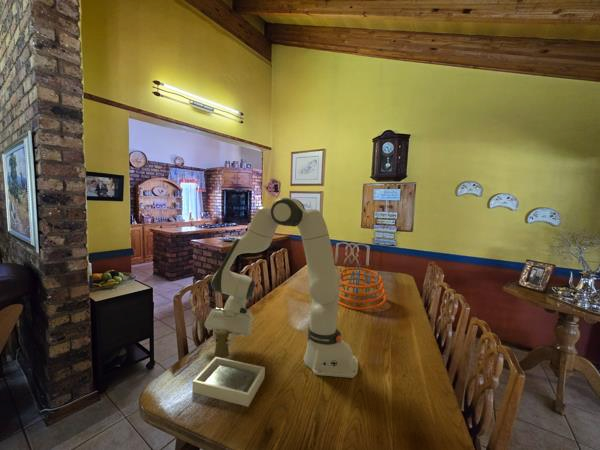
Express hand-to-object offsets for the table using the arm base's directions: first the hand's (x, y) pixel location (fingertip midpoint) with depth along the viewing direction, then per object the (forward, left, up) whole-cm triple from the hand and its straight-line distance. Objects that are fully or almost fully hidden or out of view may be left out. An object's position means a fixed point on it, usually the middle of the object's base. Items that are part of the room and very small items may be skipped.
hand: (221, 343), depth 107 cm
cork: (0, -1, -6) cm, 6 cm away
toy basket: (-55, -84, -6) cm, 101 cm away
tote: (-12, +14, -6) cm, 20 cm away
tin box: (-12, +14, -5) cm, 19 cm away
